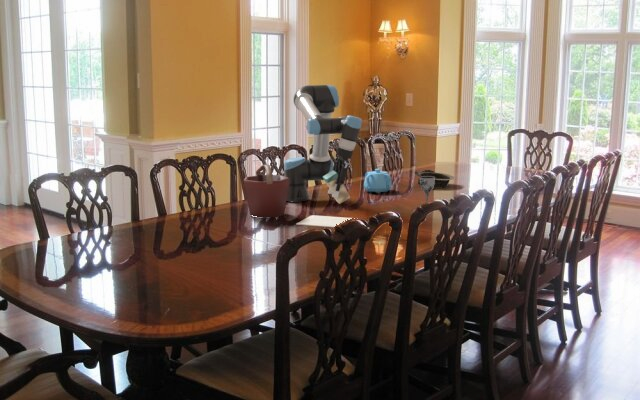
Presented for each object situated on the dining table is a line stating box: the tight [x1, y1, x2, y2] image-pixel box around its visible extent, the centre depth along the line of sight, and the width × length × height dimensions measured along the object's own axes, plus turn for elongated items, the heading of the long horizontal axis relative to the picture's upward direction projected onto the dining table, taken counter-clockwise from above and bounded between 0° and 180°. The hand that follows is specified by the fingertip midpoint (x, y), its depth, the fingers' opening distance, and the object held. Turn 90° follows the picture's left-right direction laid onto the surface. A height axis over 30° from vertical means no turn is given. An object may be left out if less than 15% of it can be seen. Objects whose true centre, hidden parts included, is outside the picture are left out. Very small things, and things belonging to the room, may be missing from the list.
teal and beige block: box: [323, 170, 351, 205], centre depth 323 cm, size 6×6×14 cm
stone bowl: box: [414, 169, 456, 189], centre depth 418 cm, size 25×25×9 cm
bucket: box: [243, 164, 289, 218], centre depth 339 cm, size 24×22×25 cm
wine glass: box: [419, 176, 435, 203], centre depth 360 cm, size 8×8×15 cm
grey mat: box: [295, 214, 359, 228], centre depth 324 cm, size 24×20×1 cm
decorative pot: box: [363, 168, 393, 195], centre depth 401 cm, size 16×16×14 cm
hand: (332, 195), depth 324 cm, fingers closed on teal and beige block, 6 cm apart
